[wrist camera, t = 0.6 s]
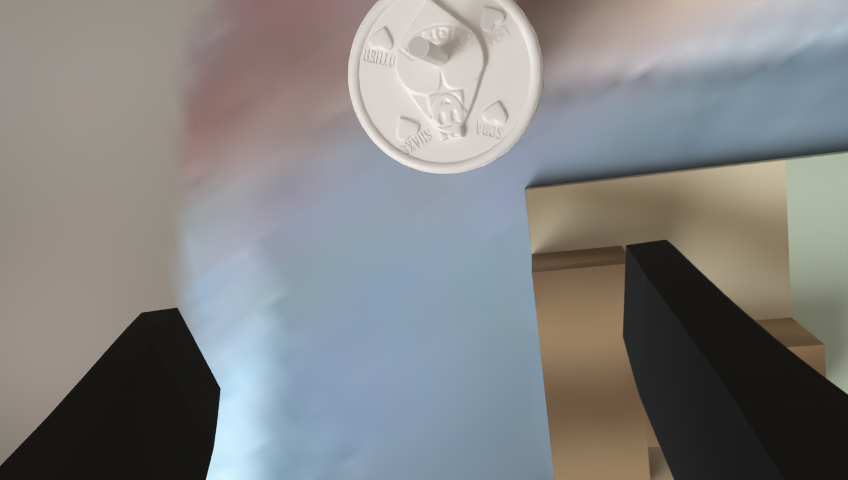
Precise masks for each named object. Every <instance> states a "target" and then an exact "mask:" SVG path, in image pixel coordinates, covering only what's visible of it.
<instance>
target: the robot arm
mask: <svg viewBox="0 0 848 480" xmlns="http://www.w3.org/2000/svg"><path fill="white" fill-rule="evenodd" d="M623 339H624V343H625V347H626V350H627V354H628V358H629V362H630V365H631V369H632V372H633V376H634V379H635V383H636V386H637V390H638V393H639V396H640V398H641V401H642V403H643V406H644V408H645V411H646V413H647V416H648V418H649V421H650V423H651V426H652V428H653V430H654V433H655V435H656V438H657V440H658V443H659V445H660V447H661V450H662V452H663V455H664V457H665V459H666V462H667V464H668V467H669V469H670V471H671V474H672V476H673V479H674V480H848V394H847V393H846V392H844V391H843V390H842V389H840V388H839V387H837V386H836V385H835V384H833V383H832V382H831V381H829V380H828V379H827V378H825V377H824V376H823V375H821V374H820V373H819V372H818V371H816V370H815V369H814V368H812V367H811V366H810V365H808V364H807V363H806V362H805V361H803V360H802V359H801V358H799V357H798V356H797V355H796V354H794V353H793V352H792V351H791V350H789V349H788V348H787V347H786V346H785V345H783V344H782V343H781V342H780V341H778V340H777V339H776V338H775V337H774V336H772V335H771V334H770V333H769V332H768V331H767V330H765V329H764V328H763V327H762V326H761V325H760V324H758V323H757V322H756V321H755V320H754V319H753V318H751V317H750V316H749V315H748V314H747V313H746V312H744V311H743V310H742V309H741V308H740V307H739V306H738V305H736V304H735V303H734V302H733V301H732V300H731V299H730V298H729V297H728V296H726V295H725V294H724V293H723V292H722V291H721V290H720V289H719V288H718V287H717V286H716V285H715V284H713V283H712V282H711V281H710V280H709V279H708V278H707V277H706V276H705V275H704V274H703V273H702V272H701V271H700V270H699V269H698V268H697V267H695V266H694V265H693V264H692V263H691V262H690V261H689V260H688V259H687V258H686V257H685V256H684V255H683V254H682V253H681V252H680V251H679V250H678V249H677V248H676V247H675V246H674V245H673V244H671V243H670V242H669V241H667V240H659V241H652V242H644V243H637V244H630V245H626V260H625V288H624V316H623ZM219 399H220V387H219V385H218V383H217V381H216V379H215V378H214V376H213V374H212V372H211V370H210V368H209V366H208V364H207V363H206V361H205V359H204V357H203V355H202V353H201V351H200V349H199V347H198V346H197V344H196V342H195V340H194V338H193V336H192V334H191V332H190V331H189V329H188V327H187V325H186V323H185V321H184V319H183V317H182V315H181V314H180V312H179V310H178V308H172V309H165V310H158V311H150V312H143V313H141V314H140V315H139V316H138V317H137V318H136V319H135V320H134V321H133V322H132V323H131V324H130V326H128V327H127V329H126V330H125V331H124V332H123V333H122V334H121V335H120V336H119V337H118V339H117V340H116V341H115V342H114V343H113V344H112V345H111V346H110V347H109V349H108V350H107V351H106V352H105V353H104V354H103V355H102V357H101V358H100V359H99V360H98V361H97V362H96V363H95V365H94V366H93V367H92V368H91V369H90V370H89V371H88V373H87V374H86V375H85V376H84V377H83V378H82V379H81V381H79V383H78V384H77V385H76V386H75V387H74V388H73V389H72V390H71V392H70V393H69V394H68V395H67V396H66V397H65V398H64V399H63V400H62V402H61V403H60V404H59V405H58V406H57V407H56V408H55V409H54V410H53V411H52V413H51V414H50V415H49V416H48V417H47V418H46V419H45V420H44V421H43V422H42V423H41V424H40V425H39V426H38V428H37V429H36V430H35V431H34V432H33V433H32V434H31V435H30V436H29V437H28V438H27V439H26V440H25V441H24V442H23V443H22V444H21V445H20V446H19V447H18V448H17V449H16V450H15V452H13V453H12V454H11V456H10V457H9V458H8V459H7V460H6V461H5V462H4V463H3V464H2V465H1V466H0V480H206V477H207V473H208V469H209V465H210V461H211V456H212V452H213V448H214V441H215V434H216V427H217V419H218V409H219Z"/></svg>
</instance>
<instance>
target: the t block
mask: <svg viewBox="0 0 848 480" xmlns="http://www.w3.org/2000/svg"><path fill="white" fill-rule="evenodd" d="M625 260H626V252H625V250H624V249H623V247H622V246H611V247H601V248H591V249H580V250H570V251H560V252H550V253H540V254H532V277H533V286H534V295H535V304H536V314H537V323H538V332H539V341H540V350H541V360H542V369H543V378H544V387H545V397H546V406H547V415H548V424H549V433H550V443H551V452H552V461H553V470H554V479H555V480H650V470H649V458H648V447H660V445H659V443H658V440H657V438H656V435H655V433H654V430H653V428H652V426H651V423H650V421H649V418H648V416H647V413H646V411H645V408H644V406H643V403H642V401H641V398H640V396H639V393H638V390H637V386H636V383H635V379H634V376H633V372H632V369H631V365H630V362H629V358H628V354H627V350H626V347H625V343H624V339H623V316H624V288H625ZM755 321H756V322H757V323H758V324H760V325H761V326H762V327H763V328H764V329H765V330H767V331H768V332H769V333H770V334H771V335H772V336H774V337H775V338H776V339H777V340H778V341H780V342H781V343H782V344H783V345H785V346H786V347H787V348H788V349H789V350H791V351H792V352H793V353H794V354H796V355H797V356H798V357H799V358H801V359H802V360H803V361H805V362H806V363H807V364H808V365H810V366H811V367H812V368H814V369H815V370H816V371H818V372H819V373H820V374H821V375H823V376H824V377H825V378H826V368H825V345H824V344H823V343H822V342H821V341H820V340H818V339H817V338H816V337H815V336H813V335H812V334H811V333H810V332H809V331H807V330H806V329H805V328H804V327H802V326H801V325H800V324H799V323H798V322H796V321H795V320H794V319H793V318H780V319H767V320H755Z"/></svg>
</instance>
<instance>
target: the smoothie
mask: <svg viewBox="0 0 848 480" xmlns="http://www.w3.org/2000/svg"><path fill="white" fill-rule="evenodd" d="M348 82H349V90H350V96H351V100H352V104H353V107H354V110H355V112H356V115H357V117H358V119H359V121H360V123H361V125H362V127H363V128H364V130H365V131H366V133H367V134H368V136H369V137H370V138H371V139H372V140H373V142H374V143H375V144H376V145H377V146H378V147H379V148H380V149H381V150H383V151H384V152H385V153H386V154H387V155H389V156H390V157H392V158H393V159H395V160H396V161H398V162H400V163H402V164H404V165H406V166H409V167H411V168H414V169H417V170H420V171H425V172H430V173H440V174H447V173H462V172H465V171H469V170H472V169H475V168H479V167H482V166H485V165H487V164H489V163H490V162H492V161H494V160H495V159H497V158H499V157H500V156H502V155H503V154H505V153H507V152H508V151H509V150H510V149H511V148H512V146H513V145H514V144H515V143H516V142H517V141H518V140H519V139H520V138H521V137H522V136H523V135H524V134H525V132H526V130H527V129H528V127H529V125H530V123H531V121H532V120H533V118H534V116H535V114H536V112H537V110H538V106H539V102H540V98H541V94H542V90H543V86H544V59H543V55H542V52H541V48H540V44H539V41H538V37H537V34H536V32H535V30H534V28H533V27H532V25H531V23H530V22H529V20H528V18H527V17H526V15H525V13H524V11H523V10H522V9H521V8H520V7H519V6H518V5H517V3H516V2H515V1H514V0H379V1H378V2H377V3H376V4H375V5H374V6H373V7H372V9H371V10H370V11H369V12H368V14H367V15H366V17H365V18H364V20H363V22H362V23H361V25H360V27H359V29H358V31H357V33H356V36H355V39H354V42H353V44H352V48H351V52H350V58H349V67H348Z"/></svg>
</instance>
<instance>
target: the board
mask: <svg viewBox="0 0 848 480" xmlns="http://www.w3.org/2000/svg"><path fill="white" fill-rule="evenodd" d="M525 195H526V204H527V214H528V223H529V232H530V241H531V251H532V254H540V253H550V252H560V251H570V250H580V249H591V248H601V247H611V246H622V247H623V249H624V250H625V252H626V245H630V244H637V243H644V242H652V241H659V240H667V241H669V242H670V243H671V244H673V245H674V246H675V247H676V248H677V249H678V250H679V251H680V252H681V253H682V254H683V255H684V256H685V257H686V258H687V259H688V260H689V261H690V262H691V263H692V264H693V265H694V266H695V267H697V268H698V269H699V270H700V271H701V272H702V273H703V274H704V275H705V276H706V277H707V278H708V279H709V280H710V281H711V282H712V283H713V284H715V285H716V286H717V287H718V288H719V289H720V290H721V291H722V292H723V293H724V294H725V295H726V296H728V297H729V298H730V299H731V300H732V301H733V302H734V303H735V304H736V305H738V306H739V307H740V308H741V309H742V310H743V311H744V312H746V313H747V314H748V315H749V316H750V317H751V318H753V319H754V320H767V319H780V318H793V319H794V320H795V321H796V322H798V323H799V324H800V325H801V326H802V327H804V328H805V329H806V330H807V331H809V332H810V333H811V334H812V335H813V336H815V337H816V338H817V339H818V340H820V341H821V342H822V343H823V344H824V345H825V368H826V378H827V379H828V380H829V381H831V382H832V383H833V384H835V385H836V386H837V387H839V388H840V389H842V390H843V391H844V392H846V393H847V394H848V151H841V152H832V153H823V154H815V155H806V156H797V157H788V158H780V159H771V160H762V161H754V162H745V163H736V164H728V165H719V166H710V167H701V168H693V169H684V170H675V171H667V172H658V173H649V174H641V175H632V176H623V177H614V178H606V179H597V180H588V181H580V182H571V183H562V184H553V185H545V186H536V187H527V188H525ZM648 458H649V470H650V480H674V479H673V476H672V474H671V471H670V469H669V467H668V464H667V462H666V459H665V457H664V455H663V452H662V450H661V447H648Z"/></svg>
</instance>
